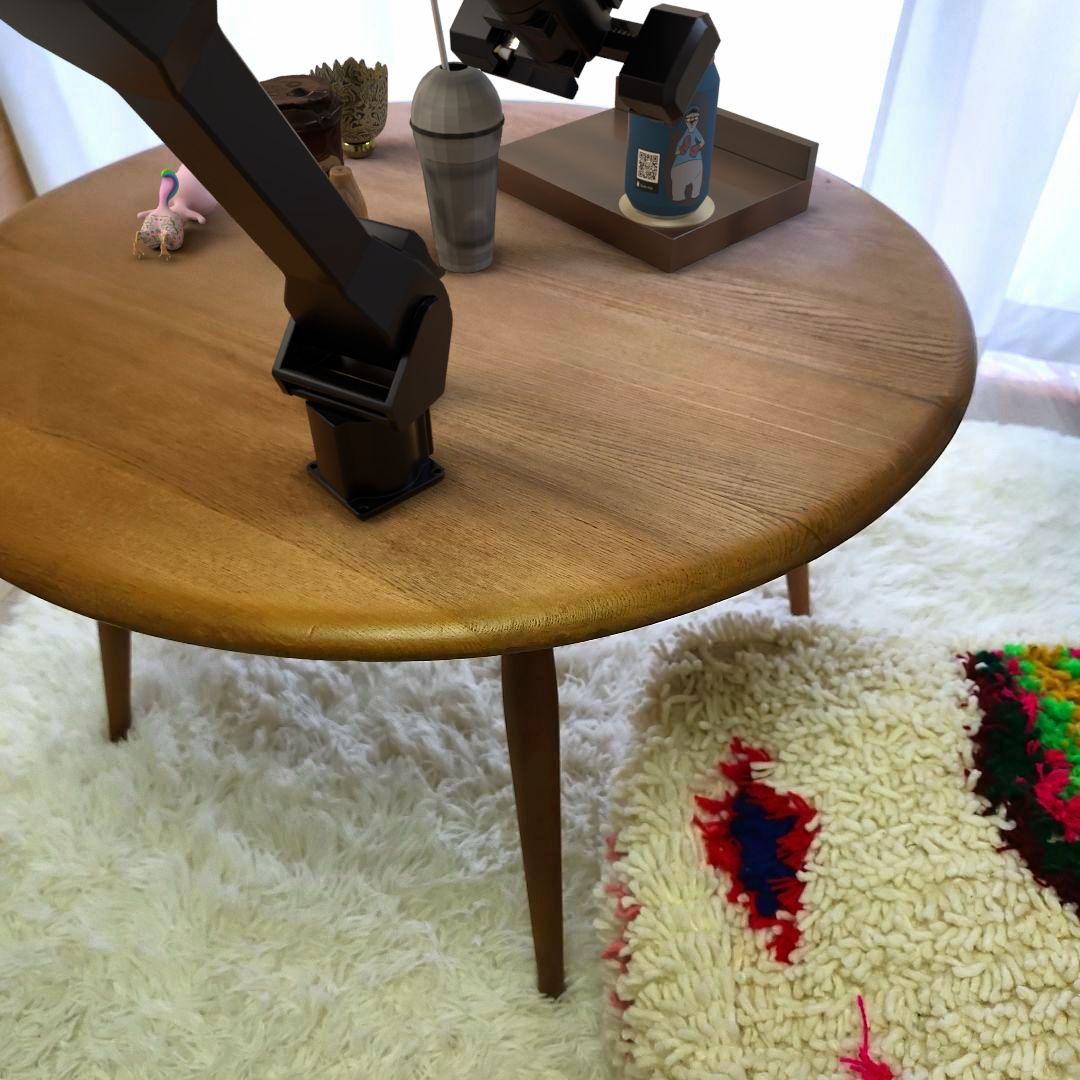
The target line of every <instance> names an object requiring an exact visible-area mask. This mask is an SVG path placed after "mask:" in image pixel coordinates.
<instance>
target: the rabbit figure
mask: <svg viewBox="0 0 1080 1080" xmlns="http://www.w3.org/2000/svg"><path fill="white" fill-rule="evenodd" d="M160 177H161V179H160V180H161V181H160V186H159V193H158V194H159V195H158V197H159V203H158V206H157V208H156V209H149V210H146V211H141V212H138V213H137V215H136V217H137V219H139V220H143V223H142V227H141V230H137V231H136V232H135V239H133V238H132V239H131V241H132V242H133V256H134V255H136V254H138V259H140V258H141V254H142V255H143V256H145V253H144V252H143V251H142V249H141V248H140V244H139V241H141V242H142V243H143V245H145V247H147V248H149V249H157V248H158V247H159V248H160V250H161V251H160V254H159V257H161V256H163V255H164V256H165V257H166V261H167V262H169V258H171V254H170V252H168V250H171V251H175V250H178V249H179V248H181V247H182V246H183V245H182V244H183V242H184V237H185V236H184V235H185V233H184V227H185V226H186V225H187V223H188V222H189V221H198V223H199V224H201V225H205V224H206V222H207V221H206V218H205V217H204V216H207V215H209V214H210V213H212V212H213V210H214V209H215V208H216V206H217V204H218V202H217V200H216V199H215V198H214V197H213V196H212V195H211V194H210V193H209V192H208V191H207V190H206V189H205V187H204V186H203V185H202V184H201V183H200V182H199V181H198V180H197V179H196V178H195V177H194V175H193V174H192V173H191V172H190V171H189V170H188V169H187V168H186V167H185V166H184V165H183V163H182V164H181V165H179V168H178V171H176V172H174V171H173V170H171V169H170V168H165V169H163V170H162V171H161V173H160Z"/></svg>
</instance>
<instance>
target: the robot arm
mask: <svg viewBox="0 0 1080 1080" xmlns="http://www.w3.org/2000/svg"><path fill="white" fill-rule="evenodd" d="M623 2H624V0H462V2H461V4H460V6H459V9H458V11H457V13H456V15H455V17H454V19H453V20H452V21H453V22H452V23H451V25H450V27H449V30H448V32H449V33H448V35H449V47H450V51H451V52H452V54H454V56H455V57H456V58H457V59H458V60H459V62H462V63H463V64H464V65H466V66H470V67H474V68H477V69H479V70H481V71H482V72H483V73H484V74H487V75H491V76H495V77H497V78H500V79H504V80H507V81H510V82H513V83H516V84H520V85H523V86H526V87H529V88H532V89H536V90H539V91H542V92H545V93H549V94H552V95H555V96H557V97H560V98H564V99H567V100H571V101H574V99H575V98H576V96H577V93H578V91H579V88H580V85H579V84H578V82H577V79H579V78H580V77H581V75H582V73H583V71H584V69H585V66H586V65H587V63H590V62H592V61H593V60H594V59H595V58H596V57H598V58H601V59H606V60H610V61H614V62H618V63H621V64H622V66H621V68H620V70H619V72H618V76H619V82H618V96H619V97H620V99H621V100H622V102H623V103H624V104H625V105H627V106H628V107H630V108H629V110H628V112H629V113H631V114H634V115H637V116H639V117H642V118H645V119H648V120H651V121H654V122H656V123H659V124H662V125H665V126H667V127H670V128H674V129H676V128H677V127H678V125H679V123H680V121H681V119H682V117H683V116H684V115H685V113H686V111H687V109H688V107H689V105H690V103H691V101H692V99H693V97H694V95H695V93H696V91H697V89H698V86H699V84H700V82H701V80H702V78H703V76H704V74H705V72H706V70H707V68H708V66H709V64H710V62H711V60H712V58H713V56H714V54H716V53H717V50H718V48H719V46H720V44H721V42H722V39H721V37H720V34H719V31H718V29H717V27H716V24H715V23H714V21H713V19H712V18H711V15H710V13H709V12H706V11H701V10H696V9H692V8H687V7H683V6H678V5H674V4H673V5H672V4H668V3H663V2H662V3H660V4H656V5H655V6H652V7H650V8H649V10H648V13H647V15H646V17H645V19H644V21H643V23H640V22H635V21H632V20H627V19H623V18H619V17H613V16H611V12H612V10H613V9H614V10H620V8H621V6H622V4H623ZM218 12H219V11H218V0H0V21H2V22H3V23H4V24H6V25H7V26H8V27H10V28H11V29H12V30H14V31H15V32H16V33H18V35H21V36H23V38H25V39H26V40H28V41H30V42H31V43H34V45H35V44H36V45H37V46H39V47H40V48H42V49H45V50H46V51H47V52H49V53H51V54H53V55H55V56H56V57H58V58H60V59H62V60H64V61H65V62H67V63H69V64H71V65H73V66H75V67H76V68H78V69H79V70H81V71H83V72H85V73H87V74H88V75H90V76H92V77H94V78H96V79H97V80H99V81H101V82H102V83H104V84H106V85H107V86H108V87H109V88H111V89H112V90H113V91H115V92H116V93H117V94H118V95H119V96H120V98H121V99H123V101H124V102H125V103H126V104H127V105H128V106H129V107H130V108H131V109H132V110H133V111H134V112H135V113H136V114H137V116H138V117H139V118H140V119H141V120H142V121H143V122H144V123H145V124H146V126H147V127H148V128H149V129H150V130H151V131H152V132H153V133H154V134H155V135H156V137H158V139H159V140H160V141H161V142H162V143H163V144H164V145H165V147H167V148H168V150H169V151H171V153H172V154H173V155H174V157H176V158H177V160H179V161H180V162H181V163H182V164H183V165H184V166H185V167H186V168H187V169H188V170H189V171H190V172H191V173H192V174H193V175H194V177H195V178H196V179H197V180H198V181H199V182H200V183H201V184H202V185H203V186H204V187H205V189H206V190H207V191H208V192H209V193H210V194H211V195H212V196H213V197H214V198H215V199H216V200H217V204H219V205H220V206H221V207H222V209H224V210H225V212H226V213H227V214H228V215H229V216H230V217H231V218H232V219H233V220H234V221H235V223H236V224H237V225H238V226H239V227H240V228H241V229H242V230H243V231H244V232H245V233H246V235H247V236H249V238H250V239H251V240H252V241H253V242H254V243H255V244H256V246H257V247H259V248H260V249H261V251H262V252H263V253H264V254H265V255H266V256H267V257H268V258H269V260H271V262H272V263H273V264H274V265H275V266H276V268H278V269H279V270H280V272H281V273H282V274H283V276H284V290H283V305H284V307H285V309H286V311H287V312H288V313H289V315H290V317H289V319H288V322H287V325H286V328H285V331H284V334H283V336H282V339H281V342H280V345H279V348H278V351H277V354H276V356H275V359H274V362H273V365H272V367H271V376H272V378H273V379H274V381H275V382H276V384H277V386H278V388H279V389H280V391H281V392H282V394H283V395H287V396H289V397H293V396H294V397H298V398H301V399H304V400H305V402H304V404H305V409H306V413H307V421H308V423H309V424H308V425H309V429H310V434H311V440H312V444H313V450H314V456H315V460H313V461H311V462H309V463H307V464H306V466H305V469H306V473H307V475H308V476H309V478H311V479H312V480H313V481H314V482H316V483H317V485H319V486H320V487H321V488H322V489H323V490H325V491H326V492H327V493H328V494H329V495H330V496H331V497H333V498H334V499H335V500H336V501H337V502H338V503H339V504H341V506H342V507H344V508H345V509H346V510H347V511H349V513H351V514H352V515H353V516H354V517H355V518H356V519H358V520H361V521H363V520H368V519H370V518H372V517H374V516H376V515H379V514H380V513H382V512H384V511H385V510H388V509H389V508H391V507H393V506H396V505H397V504H400V503H401V502H403V501H404V500H406V499H409V498H410V497H412V496H414V495H416V494H418V493H420V492H422V491H424V490H426V489H428V488H430V487H431V486H433V485H436V484H437V483H440V482H441V481H443V480H444V479H445V478H446V471H445V468H444V467H443V466H441V465H440V464H439V463H437V462H436V461H435V460H434V459H433V458H431V456H433V455H434V452H435V444H434V435H433V424H432V423H433V422H432V414H431V413H432V412H431V406H432V405H433V404H435V403H436V401H437V400H439V399H440V398H441V397H442V396H443V395H444V393H445V390H446V382H447V375H448V374H447V373H448V364H449V358H450V351H451V350H450V349H451V344H452V343H451V342H452V335H453V334H452V333H453V327H454V326H453V325H454V317H453V316H454V315H453V310H452V306H451V300H450V295H449V293H448V290H447V288H446V286H445V284H444V282H443V281H442V280H441V279H442V278H443V277H444V276H445V275H446V273H447V269H444V268H443V267H442V266H439V265H438V264H437V263H436V262H435V260H434V259H433V257H432V256H431V253H430V251H429V249H428V246H427V244H426V242H425V240H424V239H423V238H422V237H421V235H420V234H419V233H418V232H417V231H416V230H415V229H411V228H407V227H403V226H398V225H394V224H391V223H387V222H384V221H379V220H375V219H370V218H369V219H367V218H363V217H359V216H356V215H355V213H354V212H353V210H352V209H351V208H350V206H349V205H348V204H347V202H346V201H345V199H344V198H343V197H342V195H341V194H340V193H339V191H338V190H337V188H336V187H335V186H334V184H333V183H332V181H331V180H330V179H329V177H328V176H327V175H326V173H325V172H324V170H323V169H322V168H321V166H320V165H319V164H318V162H317V161H316V159H315V158H314V157H313V155H312V154H311V153H310V151H309V150H308V148H307V147H306V146H305V144H304V143H303V142H302V140H301V139H300V137H299V136H298V135H297V133H296V132H295V130H294V129H293V128H292V126H291V125H290V124H289V122H288V121H287V119H286V118H285V117H284V115H283V114H282V113H281V111H280V110H279V108H278V107H277V106H276V104H275V103H274V102H273V100H272V99H271V97H270V96H269V95H268V93H267V92H266V91H265V89H264V88H263V86H262V85H261V84H260V81H259V79H258V78H257V77H256V75H255V74H254V73H253V72H252V71H253V70H251V69H250V67H249V66H248V64H247V63H246V62H245V60H244V59H243V57H242V55H241V54H239V52H238V51H237V49H236V48H235V46H234V45H233V44H232V42H231V41H230V40H229V38H228V37H227V35H226V34H225V32H224V31H223V29H222V27H221V25H220V23H219V13H218Z"/></svg>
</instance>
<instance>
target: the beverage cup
mask: <svg viewBox="0 0 1080 1080" xmlns="http://www.w3.org/2000/svg"><path fill="white" fill-rule="evenodd" d="M429 1H430V6H431V12H432V17H433V23H434V29H435V35H436V41H437V46H438V51H439V59H440V64H438V65H436V66H434V67H433V68H431V69H430V70H429V71H428V72H426V74H424V76H422V78H421V79H420V81H419V83H417V86H416V88H415V91H414V93H413V96H412V100H411V104H410V105H411V107H410V117H409V121H408V122H409V123H408V124H409V126H410V128H411V130H412V135H413V139H414V144H415V146H416V149H417V152H418V154H419V161H420V165H421V171H422V176H423V182H424V188H425V194H426V200H427V206H428V212H429V218H430V223H431V224H430V225H431V231H432V235H433V240H434V241H433V242H434V245H435V249H436V253H437V255H438V263H439V265H440V267H442V268H444V269H445V270H446V271H450V272H453V273H458V274H459V273H460V274H461V273H462V274H468V273H475V272H479V271H481V270H482V271H483V270H484V269H487V268H488V267H489V266H491V264H492V263H493V260H494V259H493V253H494V244H495V236H496V235H495V234H496V215H497V213H496V211H497V195H498V193H497V191H498V188H497V173H498V152H499V149H500V146H501V144H502V137H503V136H502V135H503V130H504V129H503V128H504V125H505V122H506V121H505V120H506V118H505V114H504V112H503V106H502V105H503V104H502V101H501V98H500V95H499V92H498V91H497V89H496V87H495V85H494V84H493V82H492V81H491V79H490V78H489V77H488V76H487V75H486V73H484V72H482V71H481V70H480V69H477V68H474V67H470V66H466V65H464V64H463V63H462V62H461V61H448V60H449V59H448V54H447V49H446V43H445V38H444V37H445V36H444V31H443V25H442V20H441V14H440V9H439V8H440V7H439V2H438V0H429Z"/></svg>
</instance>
